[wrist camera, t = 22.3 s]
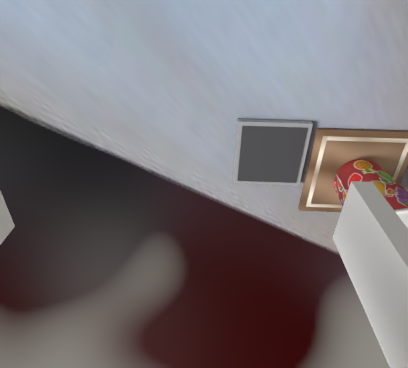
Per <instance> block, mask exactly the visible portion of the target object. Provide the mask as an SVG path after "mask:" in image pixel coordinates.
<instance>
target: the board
mask: <svg viewBox="0 0 408 368" xmlns="http://www.w3.org/2000/svg"><path fill="white" fill-rule="evenodd" d="M356 159H365V160H371V161H373V162H375V163H377V164H378V165H379V166H380V167H381V168H382V169H383V170H385V171H386V172H387V173H388V174H389V175H390V176H391V177H392V178H393V179H394V180H395V181H396V182H397V183H398V184H399V185H400V182H401V180H402V178H403V175H404V173H405V171H406V169H407V166H408V131H402V130H369V129H337V128H317V130H316V134H315V139H314V143H313V147H312V152H311V156H310V160H309V165H308V169H307V173H306V178H305V182H304V186H303V191H302V195H301V199H300V204H299V211H326V212H341V211H342V208H343V207H342V204H341V202H340V200H339V197H338V195H337V193H336V190H335V188H334V180H335V176H336V174H337V171H338V170H339V169H340V167H341V166H343V165H344V164H345V163H347V162H349V161H351V160H356Z"/></svg>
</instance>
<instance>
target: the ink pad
mask: <svg viewBox="0 0 408 368" xmlns="http://www.w3.org/2000/svg"><path fill="white" fill-rule="evenodd" d="M312 126H313V123H312V121H300V120H267V119H238V122H237V134H236V146H235V159H234V171H233V184H259V185H289V186H299V185H300V180H301V176H302V171H303V167H304V162H305V158H306V153H307V149H308V144H309V140H310V135H311V131H312Z"/></svg>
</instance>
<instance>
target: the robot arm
mask: <svg viewBox="0 0 408 368" xmlns="http://www.w3.org/2000/svg"><path fill="white" fill-rule="evenodd" d="M14 227H15V226H14V223H13V221H12V218H11V216H10V213H9V211H8V209H7V206H6V204H5V201H4V199H3V196H2V194H1V191H0V244H1V243H2V242H3V240H4V239H5V238H6V237H7V235H8V234H9V233H10V232H11V230H12V229H13V228H14ZM333 240H334V242H335V244H336V247H337V249H338V251H339V253H340V256H341V258H342V260H343V262H344V265H345V267H346V269H347V271H348V274H349V276H350V278H351V280H352V282H353V285H354V287H355V289H356V292H357V294H358V296H359V298H360V301H361V303H362V305H363V307H364V310H365V312H366V314H367V317H368V319H369V321H370V323H371V325H372V328H373V330H374V332H375V335H376V337H377V339H378V341H379V344H380V346H381V348H382V351H383V353H384V355H385V357H386V359H387V362H388V364H389V366H390V368H408V228H407V227H406V225H405V224H404V223H403V222H402V220H401V219H400V218H399V216H398V215H397V214H396V212H395V211H394V210H393V208H392V207H391V206H390V204H389V203H388V202H387V200H386V199H385V198H384V196H383V195H382V194H381V192H380V191H379V190H378V188H377V187H376V186H375V184H374V183H373V182H358V181H351V184H350V187H349V190H348V193H347V196H346V199H345V202H344V205H343V208H342V211H341V214H340V217H339V220H338V223H337V226H336V229H335V232H334V236H333Z"/></svg>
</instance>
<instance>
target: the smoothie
mask: <svg viewBox="0 0 408 368" xmlns="http://www.w3.org/2000/svg"><path fill="white" fill-rule="evenodd" d="M351 181H358V182H373V183H374V184H375V186H376V187H377V188H378V190H379V191H380V192H381V194H382V195H383V196H384V198H385V199H386V200H387V202H388V203H389V204H390V206H391V207H392V208H393V210H394V211H395V212H396V214H397V215H398V216H399V218H400V219H401V220H402V222H403V223H404V224H405V225H406V227H407V228H408V192H406V191H405V190H404V189H403V188H402V187H401V186H400V185H399V184H398V183H397V182H396V181H395V180H394V179H393V178H392V177H391V176H390V175H389V174H388V173H387V172H386V171H385V170H383V169H382V168H381V167H380V166H379V165H378V164H377V163H375V162H373V161H371V160H365V159H356V160H351V161H349V162H347V163H345V164H344V165H343V166H341V167H340V169H339V170H338V171H337V174H336V176H335V180H334V188H335V190H336V193H337V195H338V197H339V200H340V202H341V204H342V207H343V205H344V202H345V199H346V196H347V193H348V190H349V187H350V184H351Z"/></svg>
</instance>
